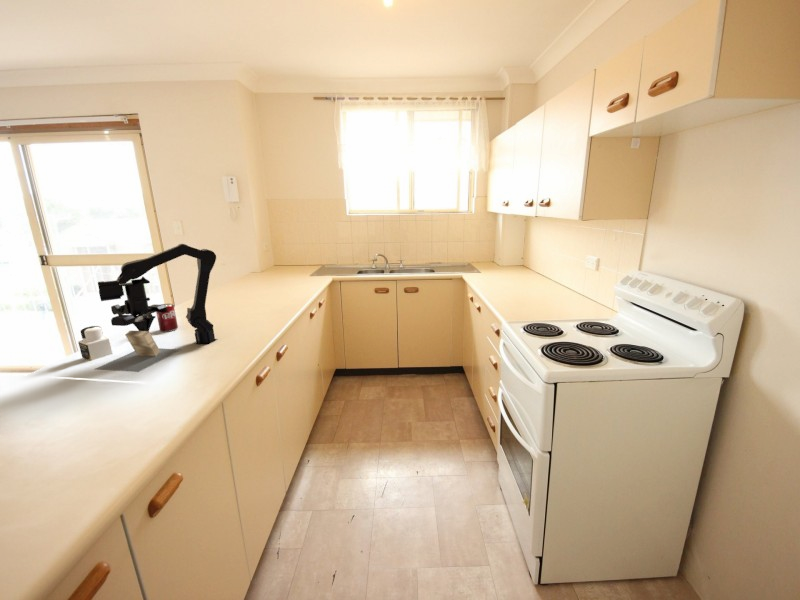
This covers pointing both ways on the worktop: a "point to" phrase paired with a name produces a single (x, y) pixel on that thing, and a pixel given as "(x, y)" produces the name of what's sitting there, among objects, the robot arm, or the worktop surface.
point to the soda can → (167, 319)
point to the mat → (136, 361)
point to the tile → (143, 343)
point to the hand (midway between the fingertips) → (145, 336)
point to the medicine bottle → (94, 343)
